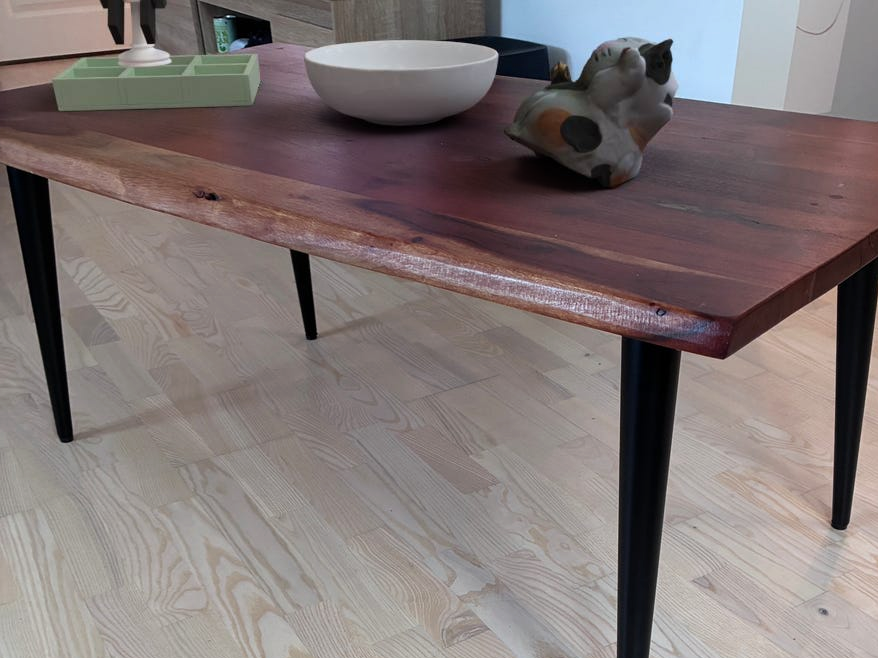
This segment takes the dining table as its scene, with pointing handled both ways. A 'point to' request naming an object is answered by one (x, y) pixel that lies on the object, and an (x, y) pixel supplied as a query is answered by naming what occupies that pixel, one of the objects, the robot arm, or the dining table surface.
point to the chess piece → (141, 45)
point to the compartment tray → (159, 83)
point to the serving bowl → (401, 79)
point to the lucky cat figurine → (601, 110)
